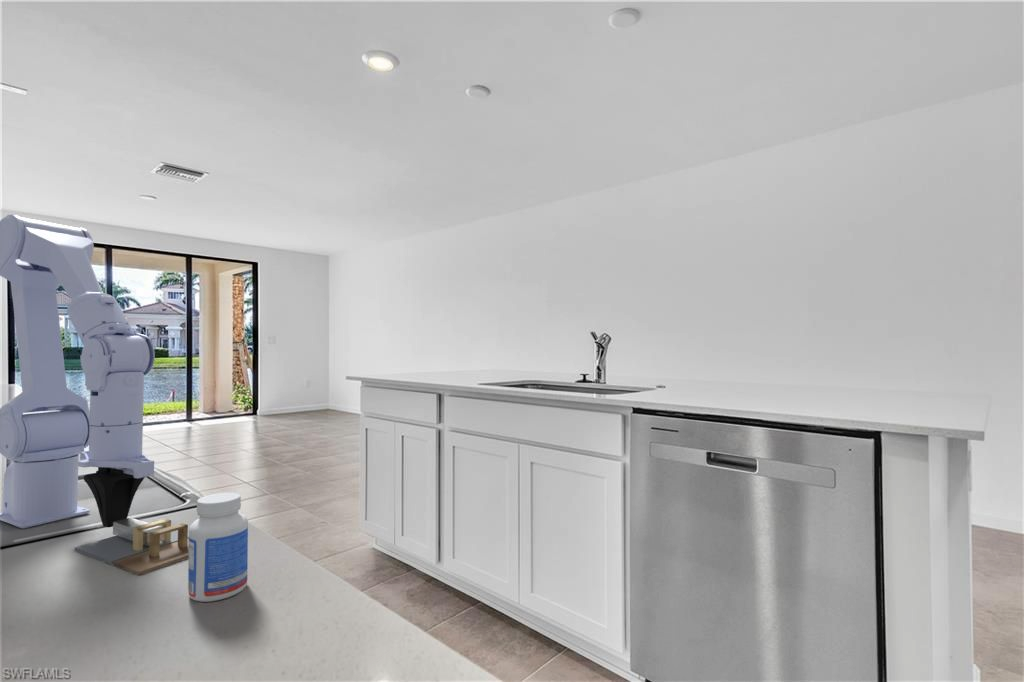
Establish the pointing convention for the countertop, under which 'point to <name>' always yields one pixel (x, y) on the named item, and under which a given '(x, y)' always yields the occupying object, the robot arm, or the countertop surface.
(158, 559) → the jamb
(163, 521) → the door
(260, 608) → the countertop surface
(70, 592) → the countertop surface
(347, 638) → the countertop surface
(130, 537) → the bolt
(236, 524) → the pill bottle
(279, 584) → the countertop surface
